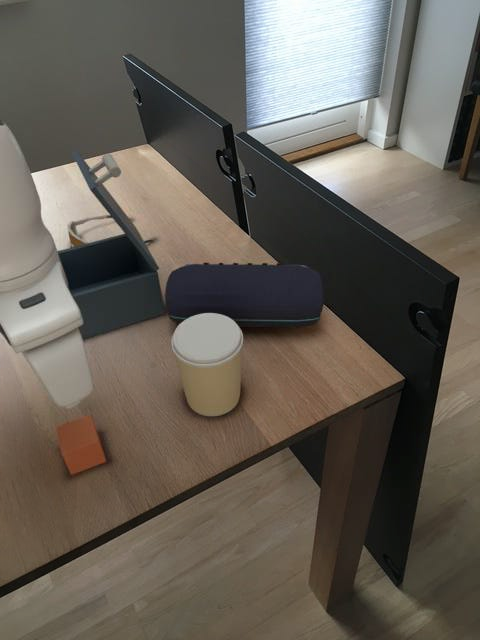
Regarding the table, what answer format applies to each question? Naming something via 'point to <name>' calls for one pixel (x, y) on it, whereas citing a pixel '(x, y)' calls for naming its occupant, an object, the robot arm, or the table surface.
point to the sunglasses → (72, 225)
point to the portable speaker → (246, 294)
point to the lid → (112, 200)
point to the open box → (111, 284)
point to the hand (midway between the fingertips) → (56, 375)
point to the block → (80, 444)
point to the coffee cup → (209, 362)
